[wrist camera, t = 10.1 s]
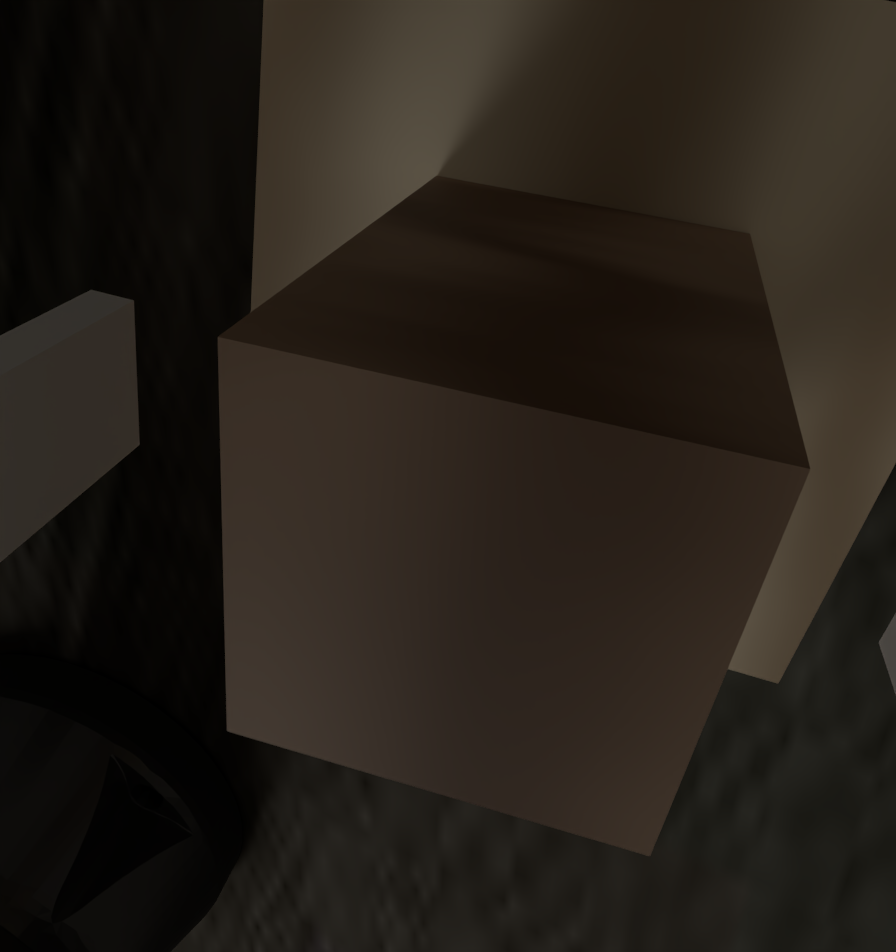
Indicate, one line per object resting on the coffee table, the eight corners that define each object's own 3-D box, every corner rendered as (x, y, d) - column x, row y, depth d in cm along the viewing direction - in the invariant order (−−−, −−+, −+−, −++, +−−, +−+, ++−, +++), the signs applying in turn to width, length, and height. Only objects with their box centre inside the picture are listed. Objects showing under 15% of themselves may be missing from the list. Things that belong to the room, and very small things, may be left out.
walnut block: (407, 442, 19) (226, 731, 12) (436, 175, 16) (217, 337, 9) (664, 503, 18) (649, 856, 11) (750, 233, 15) (809, 469, 8)
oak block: (312, 441, 26) (241, 527, 22) (361, -94, 19) (268, -119, 14) (761, 564, 24) (778, 683, 20) (1010, 31, 17) (1118, 45, 13)
